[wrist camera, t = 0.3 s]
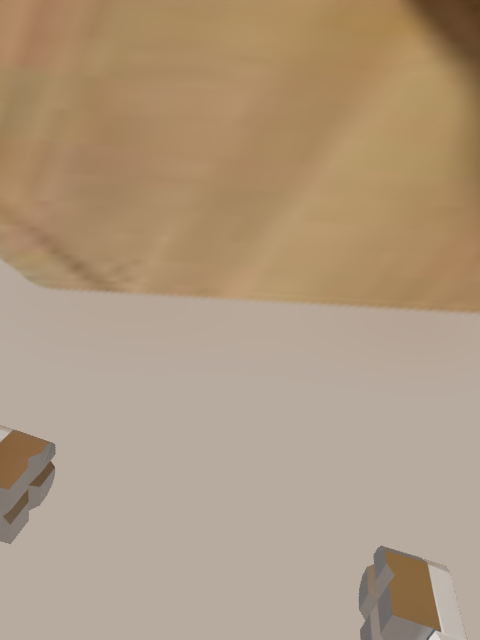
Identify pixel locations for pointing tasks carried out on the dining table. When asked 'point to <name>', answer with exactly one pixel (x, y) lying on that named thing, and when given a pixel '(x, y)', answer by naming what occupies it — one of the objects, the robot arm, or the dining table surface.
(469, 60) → the dining table surface
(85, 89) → the dining table surface
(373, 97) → the dining table surface
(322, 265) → the dining table surface
